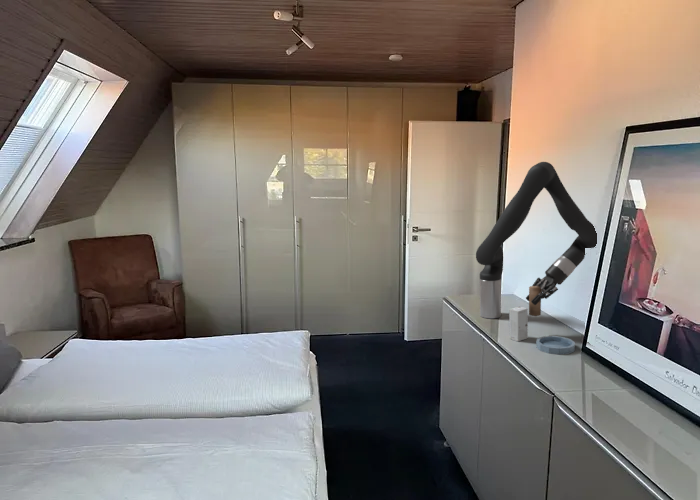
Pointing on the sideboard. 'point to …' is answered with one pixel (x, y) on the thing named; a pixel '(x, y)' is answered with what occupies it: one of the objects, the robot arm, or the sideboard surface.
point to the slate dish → (555, 345)
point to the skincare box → (518, 323)
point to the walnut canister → (533, 309)
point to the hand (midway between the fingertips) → (530, 301)
